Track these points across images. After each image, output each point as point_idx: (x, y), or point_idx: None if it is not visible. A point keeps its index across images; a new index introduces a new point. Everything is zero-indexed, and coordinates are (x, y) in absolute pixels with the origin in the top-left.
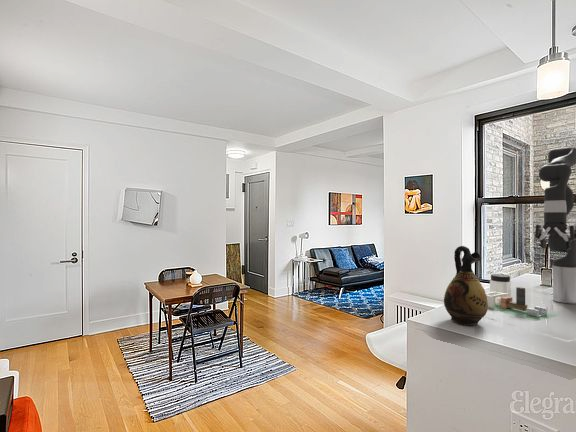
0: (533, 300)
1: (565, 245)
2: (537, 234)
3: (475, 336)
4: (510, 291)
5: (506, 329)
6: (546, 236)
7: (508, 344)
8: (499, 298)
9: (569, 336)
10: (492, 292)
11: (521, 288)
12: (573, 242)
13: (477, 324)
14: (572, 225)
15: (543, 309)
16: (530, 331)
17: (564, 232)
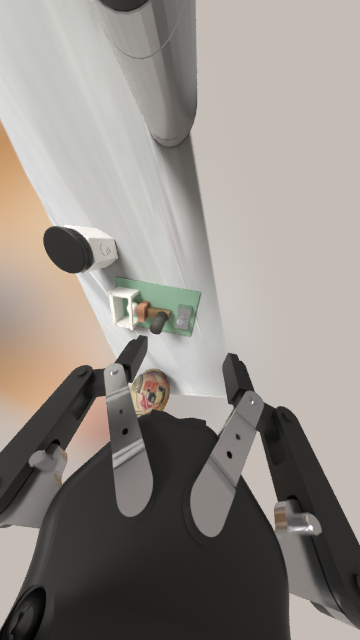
0: (131, 192)
1: (227, 385)
2: (84, 409)
3: (178, 393)
4: (104, 241)
5: (184, 370)
6: (124, 389)
7: (198, 393)
8: (133, 313)
9: (225, 355)
10: (112, 302)
11: (158, 331)
12: None
13: (164, 374)
14: (342, 619)
15: (188, 313)
16: (198, 363)
17: (233, 453)
